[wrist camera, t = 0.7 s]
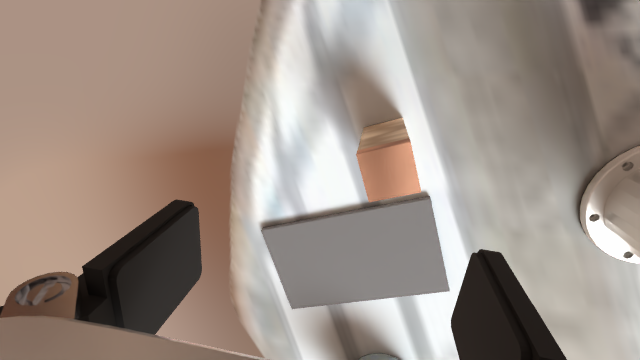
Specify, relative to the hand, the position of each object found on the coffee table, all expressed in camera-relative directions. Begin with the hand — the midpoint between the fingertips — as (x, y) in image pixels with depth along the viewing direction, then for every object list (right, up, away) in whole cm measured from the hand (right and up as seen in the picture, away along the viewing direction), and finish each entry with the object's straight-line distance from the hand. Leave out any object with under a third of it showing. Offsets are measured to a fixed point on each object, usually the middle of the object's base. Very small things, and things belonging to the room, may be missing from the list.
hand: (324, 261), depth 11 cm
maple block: (+7, +7, +23) cm, 25 cm away
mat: (+4, -7, +28) cm, 30 cm away
